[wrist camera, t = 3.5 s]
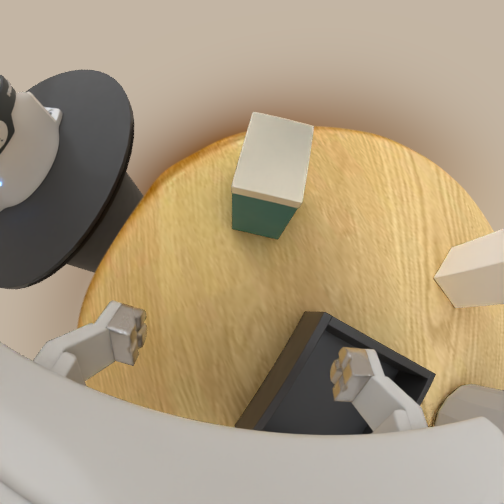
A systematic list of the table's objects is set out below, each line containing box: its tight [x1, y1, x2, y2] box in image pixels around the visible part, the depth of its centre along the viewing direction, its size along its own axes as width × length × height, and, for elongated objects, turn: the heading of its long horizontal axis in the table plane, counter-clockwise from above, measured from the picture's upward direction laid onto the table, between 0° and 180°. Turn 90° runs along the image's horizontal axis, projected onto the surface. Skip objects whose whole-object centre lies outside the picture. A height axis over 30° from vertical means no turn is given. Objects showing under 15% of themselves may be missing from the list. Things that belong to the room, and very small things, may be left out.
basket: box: [235, 312, 436, 435], centre depth 24 cm, size 15×15×7 cm
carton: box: [231, 112, 314, 239], centre depth 26 cm, size 5×7×11 cm
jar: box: [434, 384, 504, 435], centre depth 18 cm, size 10×10×18 cm
